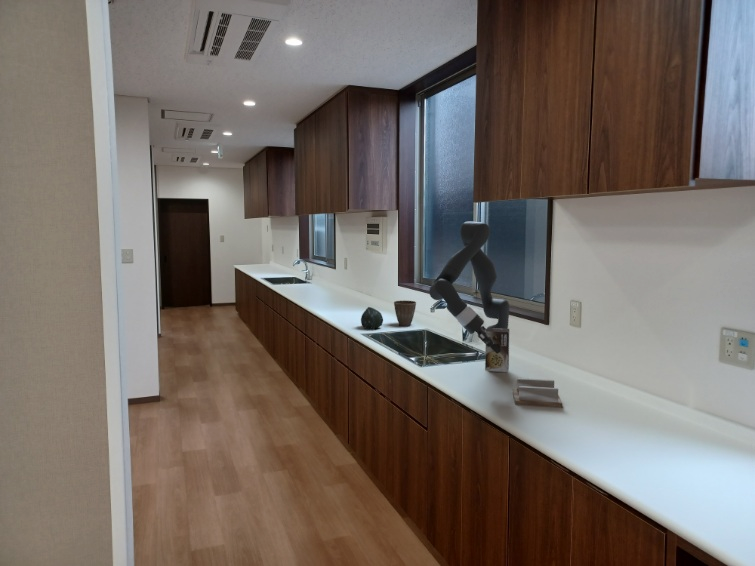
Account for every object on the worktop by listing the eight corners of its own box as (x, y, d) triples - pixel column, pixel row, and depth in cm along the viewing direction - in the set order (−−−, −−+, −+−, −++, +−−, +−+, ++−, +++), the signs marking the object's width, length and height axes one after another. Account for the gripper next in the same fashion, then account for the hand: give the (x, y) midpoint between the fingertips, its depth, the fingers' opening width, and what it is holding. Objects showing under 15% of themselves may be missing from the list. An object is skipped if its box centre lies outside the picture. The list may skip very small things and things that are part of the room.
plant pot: (419, 326, 347) (419, 303, 345) (398, 328, 342) (398, 304, 341) (411, 322, 361) (411, 300, 359) (390, 324, 356) (390, 301, 355)
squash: (387, 318, 349) (372, 301, 348) (386, 323, 334) (370, 305, 333) (372, 331, 351) (357, 315, 350) (369, 337, 336) (354, 320, 336)
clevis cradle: (512, 392, 210) (513, 377, 209) (556, 395, 207) (557, 379, 206) (515, 404, 196) (515, 387, 196) (562, 407, 193) (563, 390, 192)
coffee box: (508, 368, 208) (510, 328, 206) (508, 372, 202) (509, 331, 200) (485, 366, 211) (486, 327, 209) (484, 370, 205) (485, 330, 203)
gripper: (476, 316, 198) (507, 348, 197) (476, 310, 212) (505, 339, 211) (461, 329, 200) (492, 360, 199) (463, 322, 214) (491, 351, 213)
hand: (498, 349), depth 205 cm, fingers closed on coffee box, 6 cm apart
